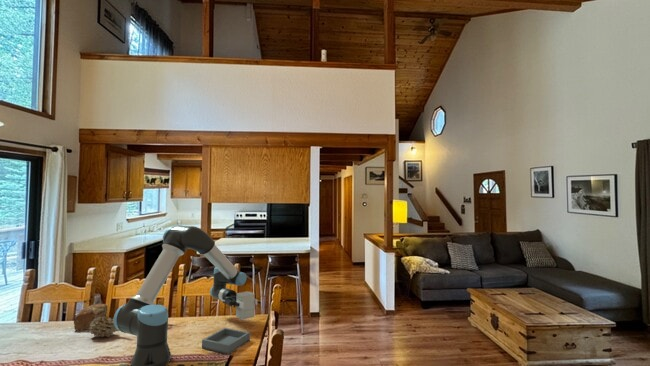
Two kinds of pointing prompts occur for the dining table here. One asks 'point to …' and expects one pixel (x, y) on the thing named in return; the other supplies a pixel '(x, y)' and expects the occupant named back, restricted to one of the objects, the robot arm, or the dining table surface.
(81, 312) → the bread
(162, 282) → the robot arm
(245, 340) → the box
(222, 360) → the dining table surface
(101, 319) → the pine cone
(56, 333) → the dining table surface
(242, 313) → the supplement box
